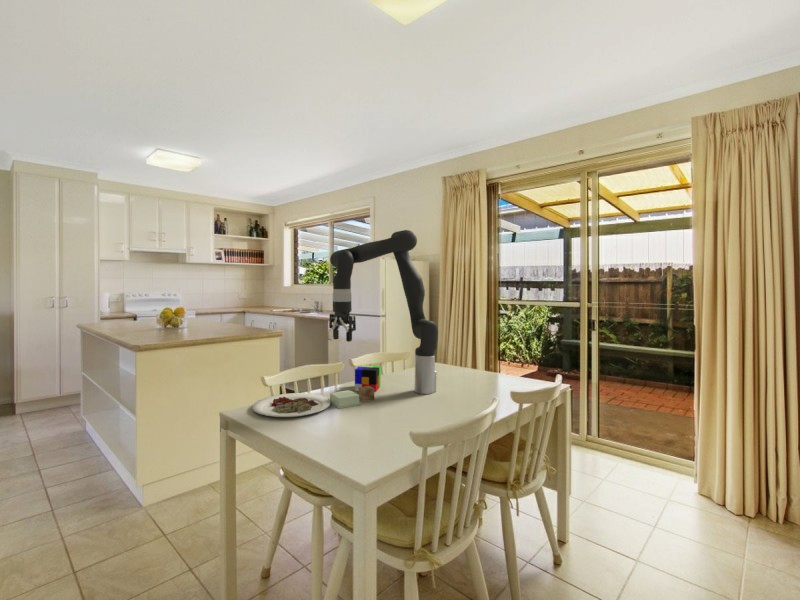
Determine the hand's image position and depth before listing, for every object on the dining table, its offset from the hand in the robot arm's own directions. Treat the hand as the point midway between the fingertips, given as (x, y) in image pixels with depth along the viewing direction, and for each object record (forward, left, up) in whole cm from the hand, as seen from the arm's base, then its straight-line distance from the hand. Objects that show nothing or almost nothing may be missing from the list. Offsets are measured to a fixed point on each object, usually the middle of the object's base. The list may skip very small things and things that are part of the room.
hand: (342, 340), depth 165 cm
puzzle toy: (-22, -18, -27) cm, 39 cm away
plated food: (+18, -8, -27) cm, 34 cm away
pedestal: (-2, -2, -27) cm, 27 cm away
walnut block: (-13, -3, -27) cm, 30 cm away
